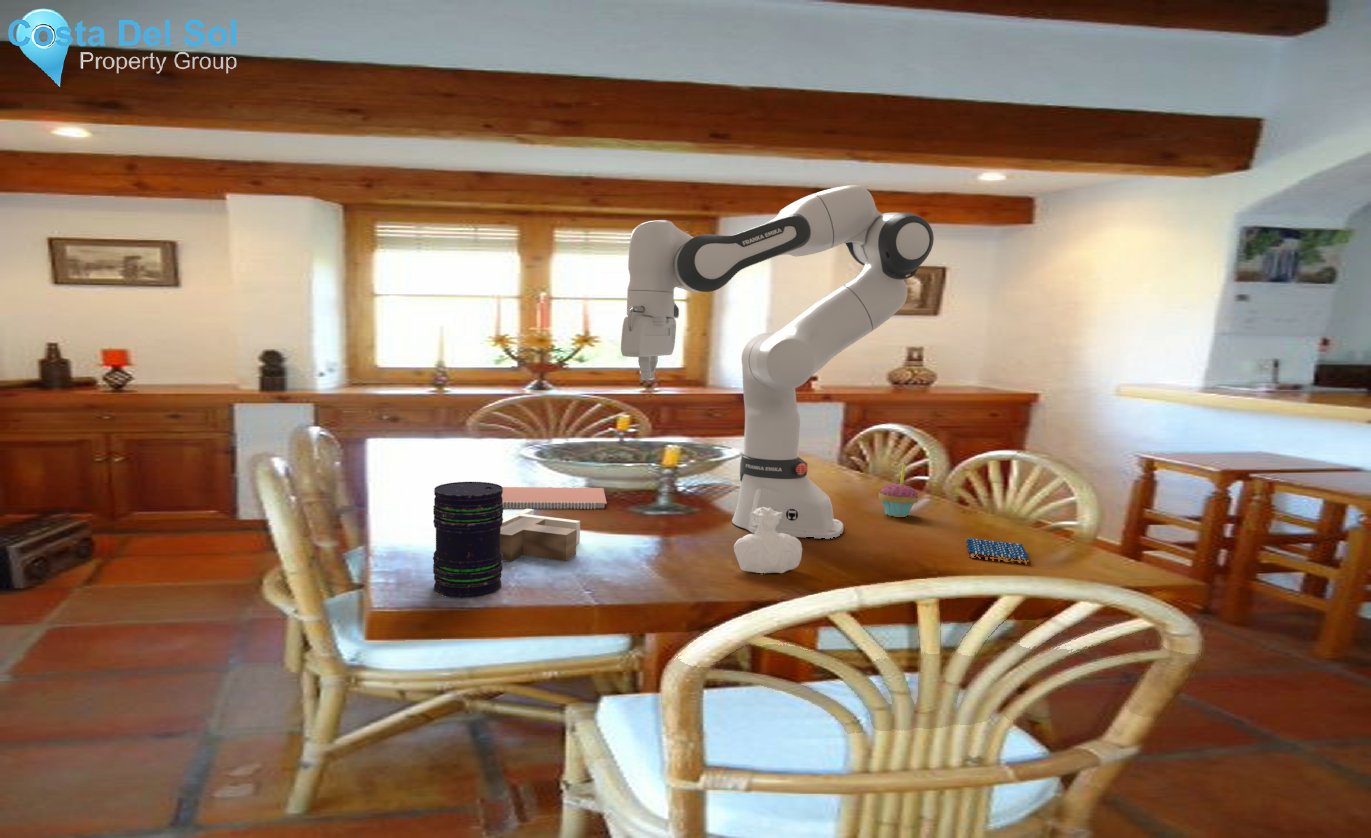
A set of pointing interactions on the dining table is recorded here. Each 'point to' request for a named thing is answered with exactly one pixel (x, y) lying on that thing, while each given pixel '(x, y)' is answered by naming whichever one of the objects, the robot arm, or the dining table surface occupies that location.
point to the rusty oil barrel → (467, 539)
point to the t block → (537, 540)
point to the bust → (767, 546)
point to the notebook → (553, 497)
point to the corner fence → (548, 521)
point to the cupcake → (898, 497)
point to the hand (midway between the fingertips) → (647, 379)
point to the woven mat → (996, 549)
